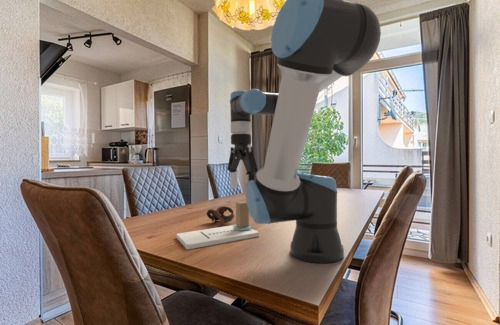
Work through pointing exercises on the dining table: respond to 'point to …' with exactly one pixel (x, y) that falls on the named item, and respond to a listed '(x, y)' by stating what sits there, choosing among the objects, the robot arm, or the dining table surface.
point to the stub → (242, 216)
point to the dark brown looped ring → (220, 215)
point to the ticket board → (214, 236)
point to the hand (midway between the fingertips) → (241, 190)
